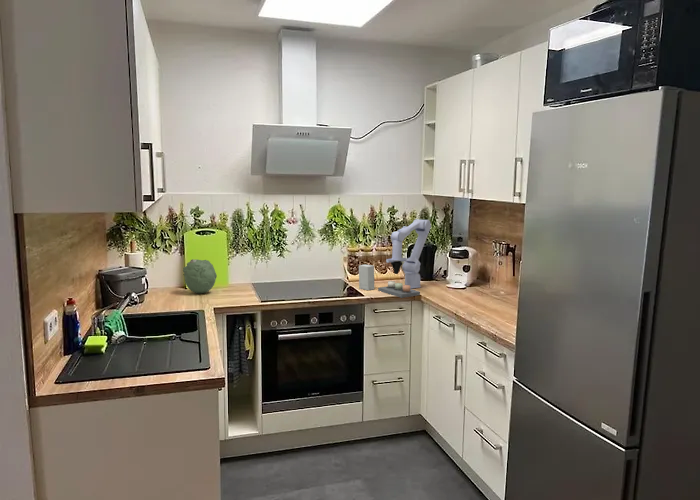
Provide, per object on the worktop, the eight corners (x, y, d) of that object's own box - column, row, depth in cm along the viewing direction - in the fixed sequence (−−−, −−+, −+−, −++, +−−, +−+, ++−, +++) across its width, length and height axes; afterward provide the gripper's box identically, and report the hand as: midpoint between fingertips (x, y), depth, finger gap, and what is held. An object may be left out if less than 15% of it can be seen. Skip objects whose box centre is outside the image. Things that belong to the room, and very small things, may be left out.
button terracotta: (406, 289, 299) (407, 284, 299) (411, 291, 295) (411, 286, 295) (401, 290, 297) (401, 285, 296) (406, 291, 293) (406, 286, 293)
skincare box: (374, 289, 311) (375, 265, 309) (367, 290, 307) (368, 266, 305) (364, 287, 317) (365, 263, 315) (358, 288, 313) (358, 264, 311)
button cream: (391, 285, 311) (392, 280, 310) (396, 286, 307) (396, 281, 307) (386, 286, 308) (386, 281, 308) (390, 287, 304) (390, 282, 304)
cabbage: (215, 295, 288) (214, 261, 285) (180, 296, 285) (179, 261, 283) (219, 290, 303) (218, 257, 300) (186, 290, 301) (185, 257, 298)
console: (396, 288, 315) (396, 284, 315) (419, 295, 297) (420, 291, 297) (378, 290, 307) (378, 287, 307) (401, 297, 289) (401, 294, 289)
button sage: (399, 287, 305) (399, 282, 304) (404, 288, 301) (404, 283, 301) (393, 288, 302) (393, 283, 302) (398, 289, 299) (398, 284, 298)
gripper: (402, 250, 313) (401, 272, 314) (383, 251, 305) (382, 273, 306) (409, 251, 307) (408, 273, 309) (390, 252, 299) (389, 275, 300)
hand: (396, 273), depth 307 cm, fingers closed
